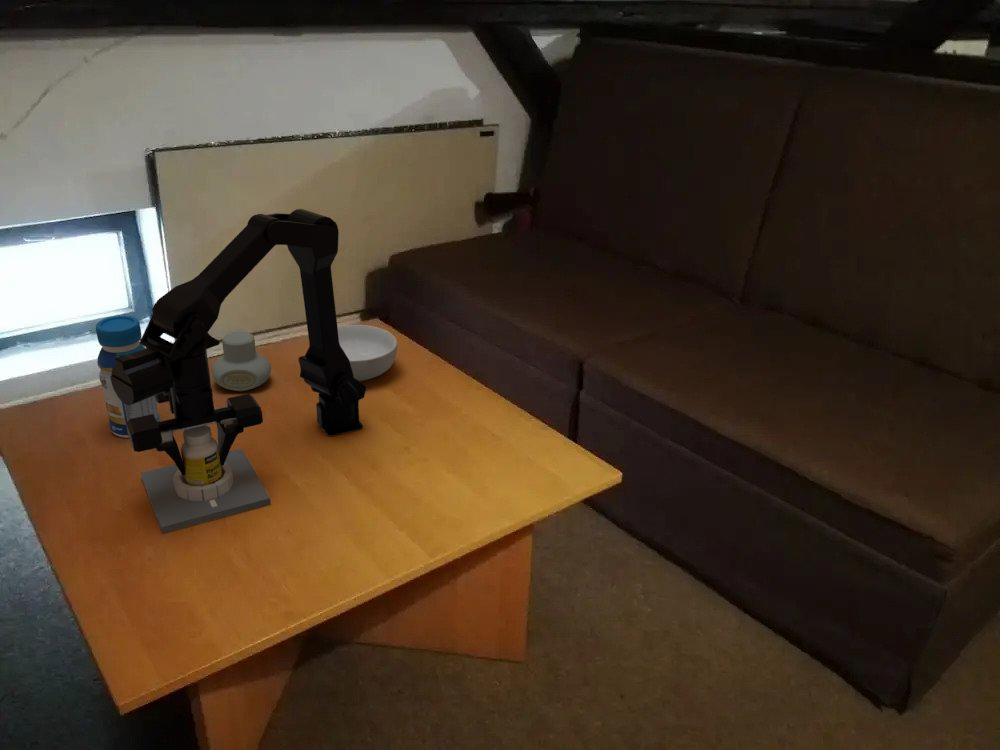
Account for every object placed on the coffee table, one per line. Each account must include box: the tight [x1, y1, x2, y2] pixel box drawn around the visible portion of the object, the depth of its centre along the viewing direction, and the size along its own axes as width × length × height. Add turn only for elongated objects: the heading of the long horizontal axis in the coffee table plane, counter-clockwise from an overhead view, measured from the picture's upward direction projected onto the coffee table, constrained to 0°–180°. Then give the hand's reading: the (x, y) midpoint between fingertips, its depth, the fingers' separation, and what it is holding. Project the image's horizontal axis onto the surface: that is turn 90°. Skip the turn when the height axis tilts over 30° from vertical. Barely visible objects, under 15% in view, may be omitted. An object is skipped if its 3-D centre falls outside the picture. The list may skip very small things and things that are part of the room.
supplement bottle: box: [180, 425, 222, 486], centre depth 133 cm, size 5×5×10 cm
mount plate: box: [140, 448, 272, 535], centre depth 135 cm, size 16×16×3 cm
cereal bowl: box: [337, 324, 398, 382], centre depth 172 cm, size 17×17×7 cm
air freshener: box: [211, 330, 272, 392], centre depth 166 cm, size 11×8×10 cm
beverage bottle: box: [95, 315, 161, 439], centre depth 148 cm, size 8×8×20 cm
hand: (202, 469), depth 134 cm, fingers open, 5 cm apart
